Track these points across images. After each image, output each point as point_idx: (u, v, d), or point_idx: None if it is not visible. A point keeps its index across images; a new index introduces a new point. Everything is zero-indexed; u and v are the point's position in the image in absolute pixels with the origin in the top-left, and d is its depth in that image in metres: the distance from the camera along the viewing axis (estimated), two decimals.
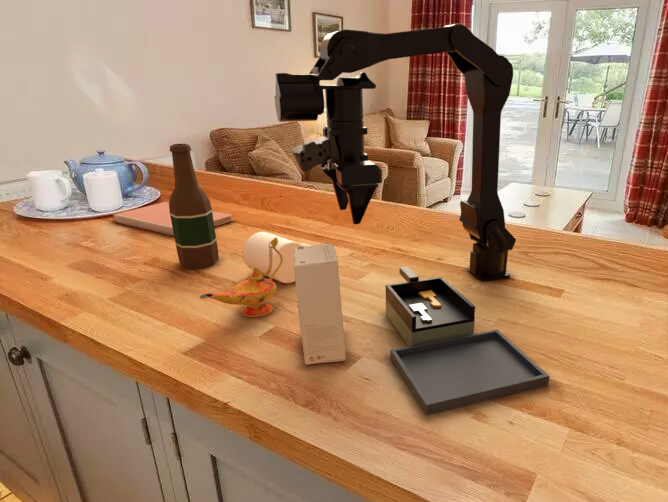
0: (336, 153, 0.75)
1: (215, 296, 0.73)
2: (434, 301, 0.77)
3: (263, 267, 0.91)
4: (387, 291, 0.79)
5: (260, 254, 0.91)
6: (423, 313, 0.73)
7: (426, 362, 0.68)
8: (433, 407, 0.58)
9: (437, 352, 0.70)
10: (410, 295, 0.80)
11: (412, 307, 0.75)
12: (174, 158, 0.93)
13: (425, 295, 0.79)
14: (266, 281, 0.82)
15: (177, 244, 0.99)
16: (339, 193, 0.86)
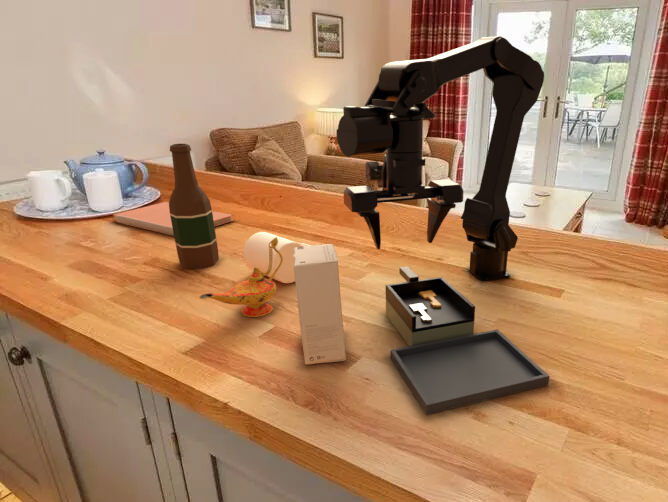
0: (382, 178, 0.79)
1: (215, 296, 0.73)
2: (434, 301, 0.77)
3: (263, 267, 0.91)
4: (387, 291, 0.79)
5: (260, 254, 0.91)
6: (423, 313, 0.73)
7: (426, 362, 0.68)
8: (433, 407, 0.58)
9: (437, 352, 0.70)
10: (410, 295, 0.80)
11: (412, 307, 0.75)
12: (174, 158, 0.93)
13: (425, 295, 0.79)
14: (266, 281, 0.82)
15: (177, 244, 0.99)
16: (428, 224, 0.83)
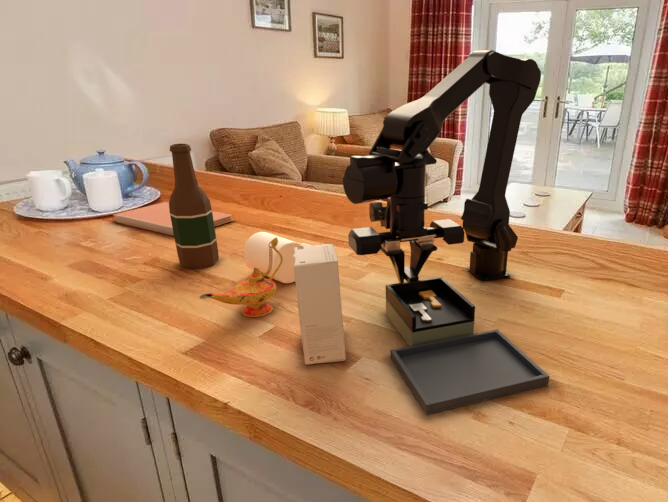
0: (385, 219, 0.81)
1: (215, 296, 0.73)
2: (434, 301, 0.77)
3: (263, 267, 0.91)
4: (387, 291, 0.79)
5: (260, 254, 0.91)
6: (423, 313, 0.73)
7: (426, 362, 0.68)
8: (433, 407, 0.58)
9: (437, 352, 0.70)
10: (410, 295, 0.80)
11: (412, 307, 0.75)
12: (174, 158, 0.93)
13: (425, 295, 0.79)
14: (266, 281, 0.82)
15: (177, 244, 0.99)
16: (411, 265, 0.84)
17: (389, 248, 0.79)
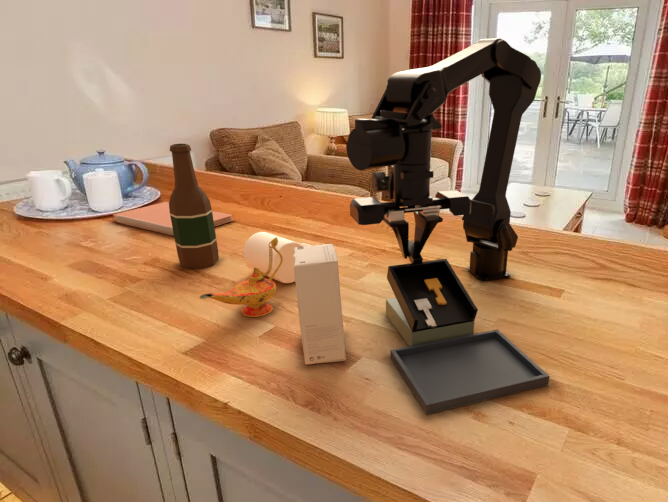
0: (389, 189, 0.78)
1: (215, 296, 0.73)
2: (439, 296, 0.75)
3: (263, 267, 0.91)
4: (389, 273, 0.76)
5: (260, 254, 0.91)
6: (428, 315, 0.72)
7: (426, 362, 0.68)
8: (433, 407, 0.58)
9: (437, 352, 0.70)
10: (412, 277, 0.78)
11: (417, 304, 0.73)
12: (174, 158, 0.93)
13: (431, 286, 0.77)
14: (266, 281, 0.82)
15: (177, 244, 0.99)
16: (415, 238, 0.81)
17: (392, 218, 0.75)
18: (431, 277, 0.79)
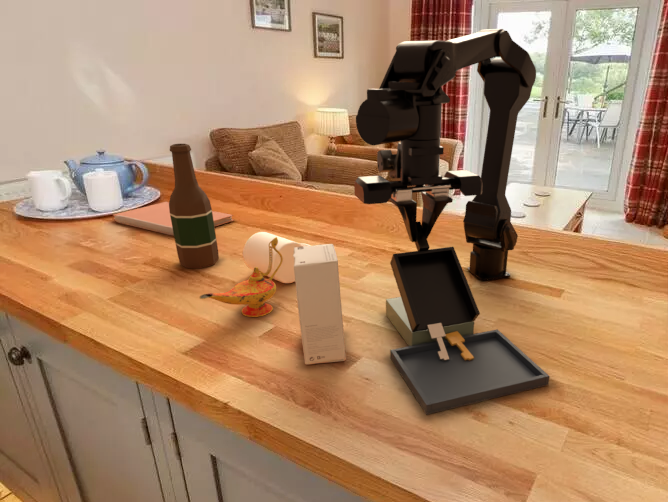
0: (395, 168, 0.73)
1: (215, 296, 0.73)
2: (465, 351, 0.69)
3: (263, 267, 0.91)
4: (393, 262, 0.73)
5: (260, 254, 0.91)
6: (441, 346, 0.69)
7: (426, 362, 0.68)
8: (433, 407, 0.58)
9: None
10: (416, 264, 0.76)
11: (430, 331, 0.70)
12: (174, 158, 0.93)
13: (453, 340, 0.71)
14: (266, 281, 0.82)
15: (177, 244, 0.99)
16: (423, 220, 0.76)
17: (400, 198, 0.71)
18: (435, 265, 0.76)
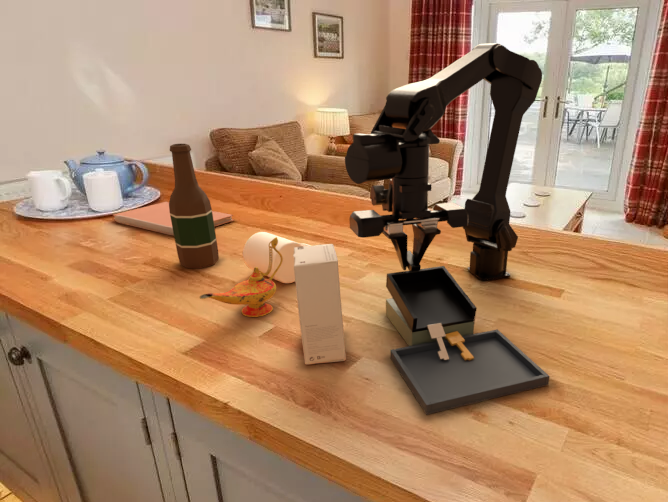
0: (387, 202, 0.79)
1: (215, 296, 0.73)
2: (465, 351, 0.69)
3: (263, 267, 0.91)
4: (388, 280, 0.77)
5: (260, 254, 0.91)
6: (441, 346, 0.69)
7: (426, 362, 0.68)
8: (433, 407, 0.58)
9: None
10: (411, 284, 0.79)
11: (430, 331, 0.70)
12: (174, 158, 0.93)
13: (453, 340, 0.71)
14: (266, 281, 0.82)
15: (177, 244, 0.99)
16: (414, 250, 0.82)
17: (391, 231, 0.76)
18: (430, 284, 0.80)
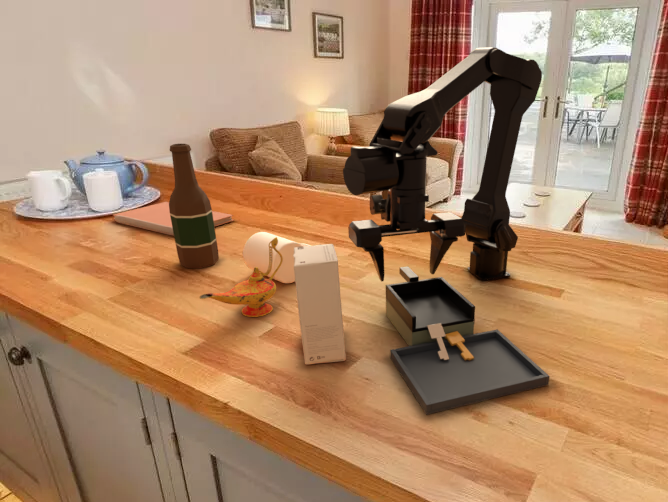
0: (386, 212, 0.81)
1: (215, 296, 0.73)
2: (465, 351, 0.69)
3: (263, 267, 0.91)
4: (387, 291, 0.79)
5: (260, 254, 0.91)
6: (441, 346, 0.69)
7: (426, 362, 0.68)
8: (433, 407, 0.58)
9: None
10: (410, 295, 0.80)
11: (430, 331, 0.70)
12: (174, 158, 0.93)
13: (453, 340, 0.71)
14: (266, 281, 0.82)
15: (177, 244, 0.99)
16: (431, 256, 0.85)
17: None
18: (429, 294, 0.81)
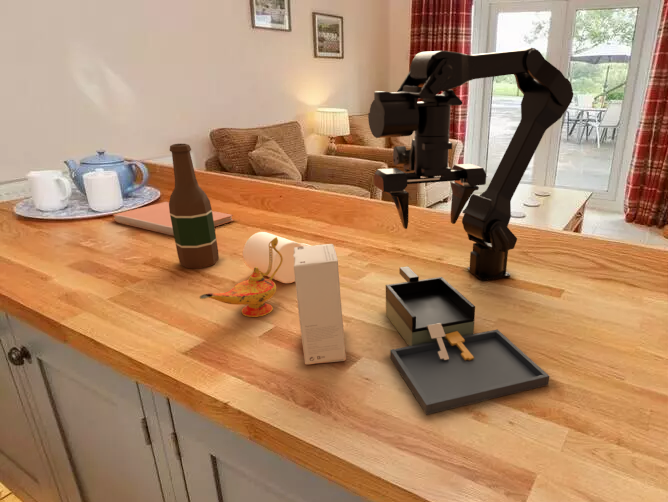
0: (410, 161, 0.84)
1: (215, 296, 0.73)
2: (465, 351, 0.69)
3: (263, 267, 0.91)
4: (387, 291, 0.79)
5: (260, 254, 0.91)
6: (441, 346, 0.69)
7: (426, 362, 0.68)
8: (433, 407, 0.58)
9: None
10: (410, 295, 0.80)
11: (430, 331, 0.70)
12: (174, 158, 0.93)
13: (453, 340, 0.71)
14: (266, 281, 0.82)
15: (177, 244, 0.99)
16: (452, 206, 0.88)
17: None
18: (429, 294, 0.81)
